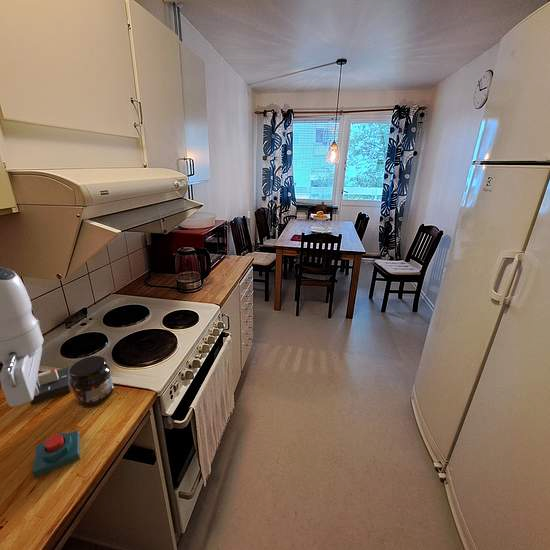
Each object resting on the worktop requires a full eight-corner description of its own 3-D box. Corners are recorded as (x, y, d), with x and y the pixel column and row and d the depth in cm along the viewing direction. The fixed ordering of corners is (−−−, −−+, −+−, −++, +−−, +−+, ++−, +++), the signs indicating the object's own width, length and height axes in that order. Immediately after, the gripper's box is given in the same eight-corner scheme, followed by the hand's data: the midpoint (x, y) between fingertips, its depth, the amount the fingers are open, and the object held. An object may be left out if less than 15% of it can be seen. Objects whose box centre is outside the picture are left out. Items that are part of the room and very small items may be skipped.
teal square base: (35, 478, 68) (30, 467, 66) (38, 451, 74) (34, 440, 72) (80, 459, 72) (76, 448, 71) (80, 435, 78) (76, 424, 77)
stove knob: (40, 385, 91) (37, 376, 90) (41, 382, 92) (37, 373, 91) (58, 379, 93) (55, 370, 92) (58, 377, 95) (55, 367, 93)
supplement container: (81, 387, 94) (72, 358, 90) (116, 380, 98) (109, 351, 93) (72, 412, 85) (62, 381, 81) (112, 403, 89) (104, 372, 84)
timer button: (45, 454, 69) (43, 449, 69) (47, 443, 72) (45, 438, 71) (63, 447, 71) (62, 442, 71) (64, 436, 74) (62, 431, 73)
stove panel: (31, 404, 88) (28, 397, 86) (35, 384, 95) (32, 377, 94) (70, 392, 93) (67, 384, 91) (70, 373, 100) (68, 366, 99)
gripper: (27, 364, 53) (48, 418, 59) (39, 316, 69) (54, 362, 75) (-18, 376, 50) (8, 432, 55) (5, 323, 66) (23, 371, 71)
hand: (35, 392), depth 65 cm, fingers closed
